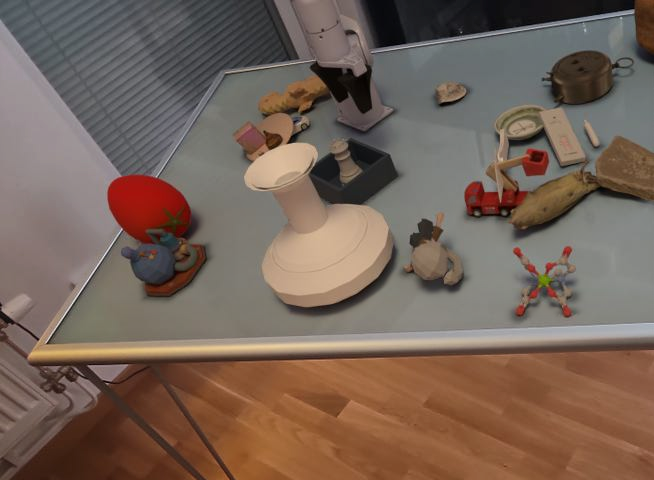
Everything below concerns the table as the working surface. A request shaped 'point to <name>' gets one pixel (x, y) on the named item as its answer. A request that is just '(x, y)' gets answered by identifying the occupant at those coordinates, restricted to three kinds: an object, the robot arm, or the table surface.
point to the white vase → (316, 234)
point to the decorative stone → (626, 168)
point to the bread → (645, 24)
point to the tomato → (148, 206)
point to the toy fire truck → (504, 185)
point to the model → (165, 263)
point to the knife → (501, 159)
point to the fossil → (449, 92)
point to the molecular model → (546, 280)
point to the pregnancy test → (565, 136)
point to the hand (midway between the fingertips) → (354, 105)
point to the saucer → (520, 122)
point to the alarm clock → (582, 76)
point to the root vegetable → (553, 198)
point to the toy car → (299, 124)
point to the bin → (362, 186)
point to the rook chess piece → (344, 161)
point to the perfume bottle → (264, 135)
